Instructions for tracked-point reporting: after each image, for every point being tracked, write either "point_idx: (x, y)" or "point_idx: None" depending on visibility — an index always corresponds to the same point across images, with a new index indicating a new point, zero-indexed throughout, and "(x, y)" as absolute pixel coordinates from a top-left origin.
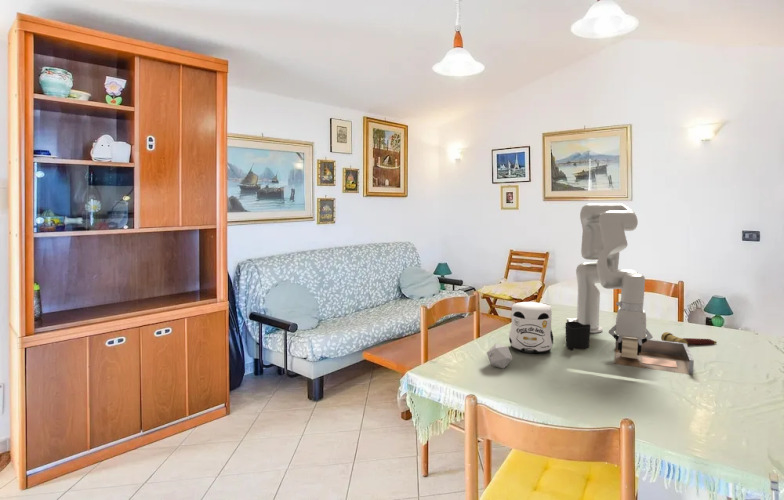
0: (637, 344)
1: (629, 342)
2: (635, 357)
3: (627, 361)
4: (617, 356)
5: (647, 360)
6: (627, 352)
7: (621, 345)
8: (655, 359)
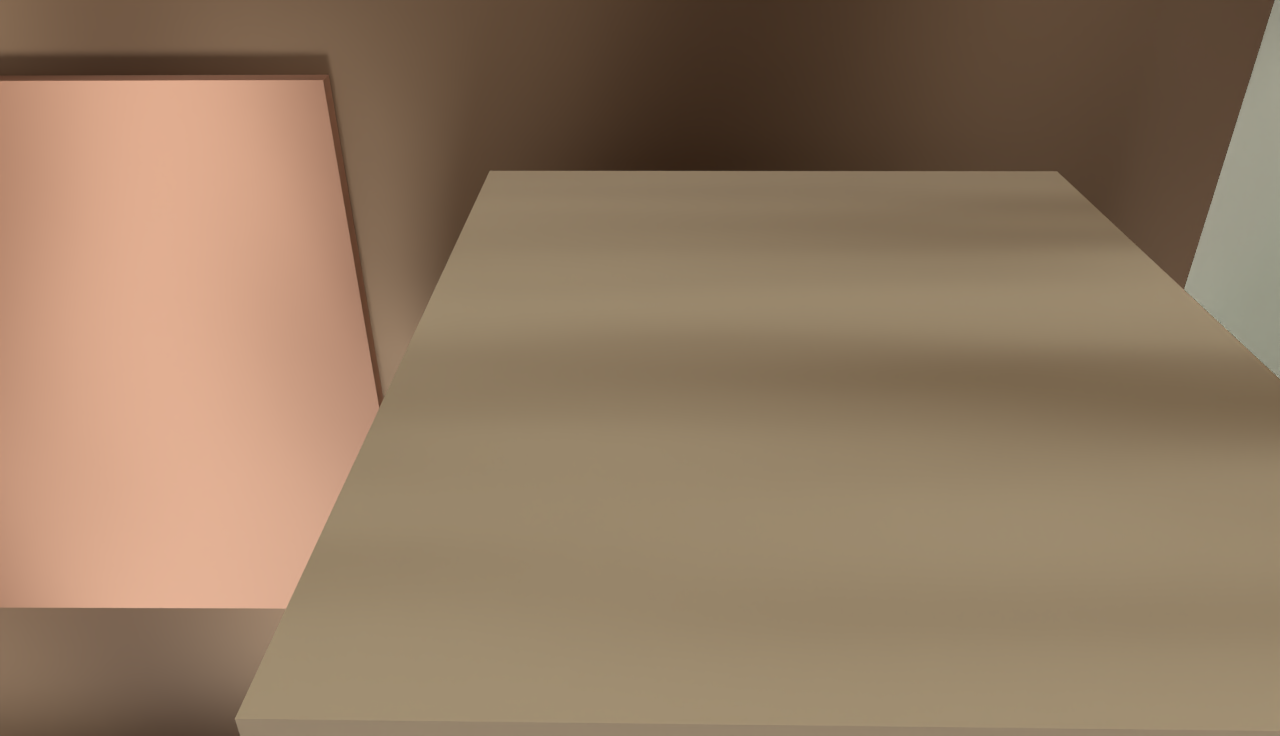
0: (304, 606)
1: (977, 695)
2: (538, 189)
3: (813, 74)
4: None
5: (219, 397)
6: (891, 259)
7: None
8: (54, 554)
